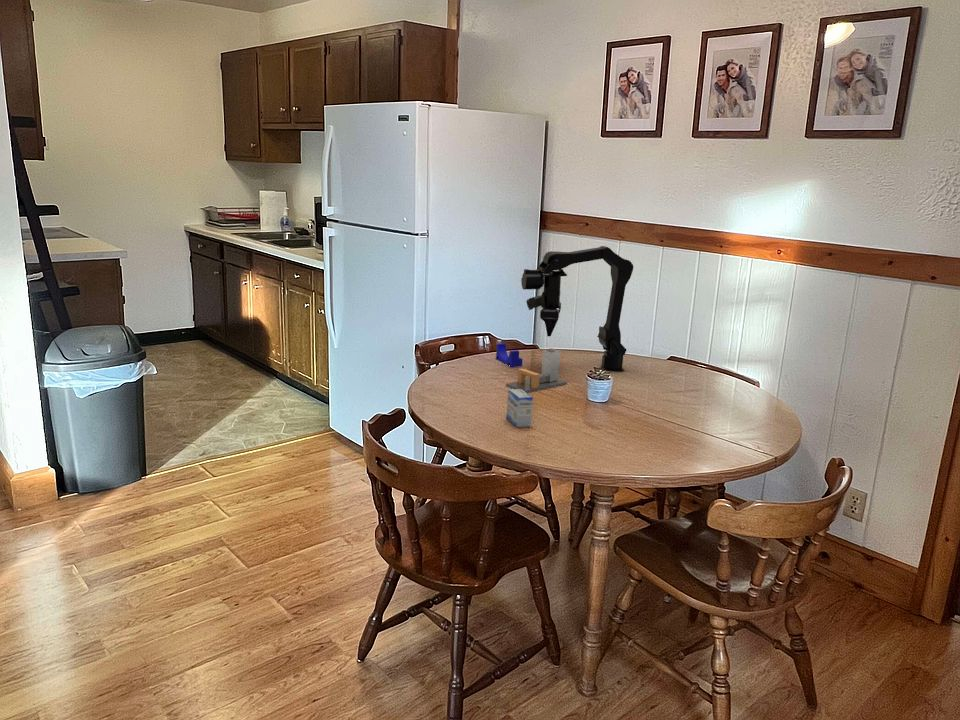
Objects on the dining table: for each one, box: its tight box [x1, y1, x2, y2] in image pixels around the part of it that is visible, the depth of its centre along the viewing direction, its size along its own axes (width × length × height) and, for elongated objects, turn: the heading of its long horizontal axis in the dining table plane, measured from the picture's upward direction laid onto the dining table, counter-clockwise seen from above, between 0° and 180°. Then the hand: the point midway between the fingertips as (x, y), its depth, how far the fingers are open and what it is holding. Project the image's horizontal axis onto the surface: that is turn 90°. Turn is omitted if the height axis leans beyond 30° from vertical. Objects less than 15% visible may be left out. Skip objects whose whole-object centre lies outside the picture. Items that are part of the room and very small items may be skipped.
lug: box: [516, 367, 540, 388], centre depth 242 cm, size 2×8×4 cm, turn 40°
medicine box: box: [505, 388, 534, 428], centre depth 208 cm, size 8×4×9 cm, turn 21°
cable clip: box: [495, 342, 523, 368], centre depth 270 cm, size 12×4×6 cm, turn 25°
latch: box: [529, 348, 561, 383], centre depth 245 cm, size 10×4×10 cm, turn 130°
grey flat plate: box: [505, 378, 568, 394], centre depth 245 cm, size 19×9×1 cm, turn 130°
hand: (549, 333), depth 260 cm, fingers open, 9 cm apart
